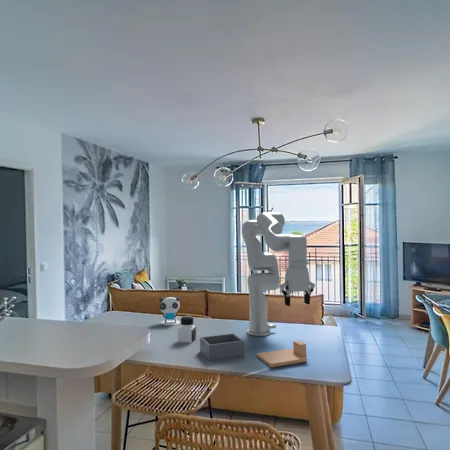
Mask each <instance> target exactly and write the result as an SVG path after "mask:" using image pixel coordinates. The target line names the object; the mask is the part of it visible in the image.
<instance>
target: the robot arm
mask: <svg viewBox="0 0 450 450" xmlns="http://www.w3.org/2000/svg"><path fill="white" fill-rule="evenodd" d="M285 220H286V219H285V217H284V215H283V214H282V213H280V212H270V211H269V212H265V211H264V212H261V213H259V214H258V215H257V216H256V219H250V220H246V221H244V222H243V223H242V225H241V226H242V227H241V234H242V239H243V241H244V244H245V247H246V257H247V264H248V265H247V266H248V267H249V270H251V271H253V272H254V273H251V274H249V276H248V277H247V279H246V280H247V288H248V294H249V295H248V296H249V297H248V299H249V300H248V301H249V306H248V307H249V319H248V320H249V327H248V328H247V329H246V334H247V335H250V336H253V337H265V336H269V335H270V334H271V329H276V328H277V326H276V324H271V323H270V324H269V323H268V299H267V296H266V294H265V293H264V292H266V291H276V290H278V289H279V290H280V293H282V295H283V296H284V304H285V306H287V307H291V294H292V293H299V292H304V295H303V297H304V299H303V300H304V301H303V302H304V304H306V305H310V304H311V303H310V302H311V295H312V293H313V291H314V289H315V287H316V283H314V282H312V281H311V280H310V273H309V268H308V265H309V264H310V263H309V261H307V257H308V256H307V253H308V248H307V246H308V245H307V244H308V243H307V242H308V241H307V239H308V238H307V237H306V236H305V235H297V234H282V233H283V229H284V228H283V227H284V226H285V223H286V221H285ZM257 236H259V237H260V236H261V237H262V236H263V237H264V242H265V244H266V246H267V247H268V248H269V249H270V250H271V251H272V252H277V253H280V252H281V253H282V252H284V253H286V252H288V267H286V270H285V275H284V282H283V283H282V284H281V279H280V271H279V265H278V259H277V257H276V255H275V254H274V253H272V252H264V251H263V245H262V242H261V241H260V240H259V239H258V237H257ZM259 271H260V272H259ZM261 271H267V272H261Z"/></svg>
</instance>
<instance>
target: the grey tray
mask: <svg viewBox="0 0 450 450" xmlns="http://www.w3.org/2000/svg"><path fill="white" fill-rule="evenodd" d="M199 352H200V354H202V355H203V356H204V357H205V358H206V359H207V361H208V362H211V361H217V360H222V359H223V360H224V359H231V358H237V357H238V358H239V357H244V356H245V340H244V339H242V338H241V337H239V336H238V335H237V334H236V333H234V332H233V333H225V334H217V335H207V336H200V337H199Z"/></svg>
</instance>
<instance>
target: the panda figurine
mask: <svg viewBox="0 0 450 450" xmlns="http://www.w3.org/2000/svg"><path fill="white" fill-rule="evenodd" d="M180 299H181V298H180V296H176V297H173V296H170V297H163V296H162V297H160V298H159V299H158V300H159V303H160V305H159V309H160V311H161V312H162V317H163V318H164V320H162V321H160V325H162V326H163V325H164V326H176V325H180V324H181V320H178V318H177V317H178V311H179V309H180V304H181V303H180Z"/></svg>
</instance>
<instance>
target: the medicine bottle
mask: <svg viewBox="0 0 450 450" xmlns="http://www.w3.org/2000/svg"><path fill="white" fill-rule="evenodd" d="M196 340H197V325H194V317H193V316H190V315H186V316H182V317H181V318H180V326H179V327H178V328H177V343H190V344H192V343H193V342H194V341H196Z"/></svg>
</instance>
